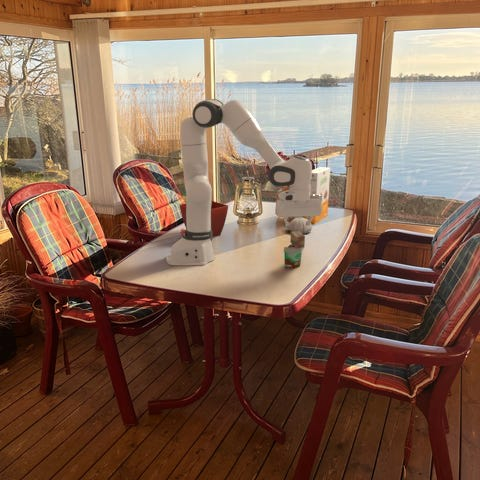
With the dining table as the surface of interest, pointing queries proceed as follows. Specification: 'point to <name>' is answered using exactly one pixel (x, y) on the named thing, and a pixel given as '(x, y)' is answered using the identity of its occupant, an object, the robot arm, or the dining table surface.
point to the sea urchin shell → (300, 225)
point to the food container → (292, 256)
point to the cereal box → (320, 190)
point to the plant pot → (212, 217)
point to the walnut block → (297, 239)
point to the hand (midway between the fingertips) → (297, 226)
